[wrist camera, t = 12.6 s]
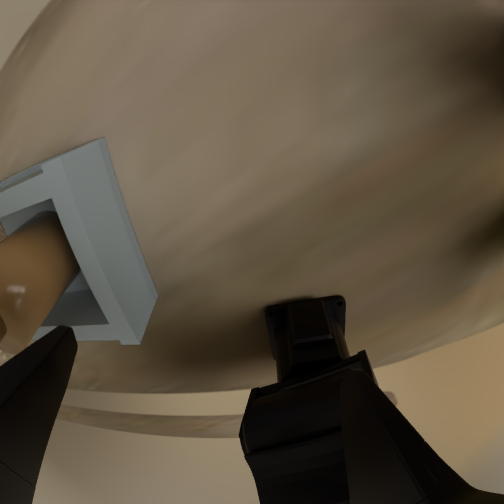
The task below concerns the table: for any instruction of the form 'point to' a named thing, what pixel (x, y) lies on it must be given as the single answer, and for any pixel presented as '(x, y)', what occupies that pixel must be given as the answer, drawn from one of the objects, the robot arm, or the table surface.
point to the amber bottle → (32, 277)
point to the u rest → (87, 243)
